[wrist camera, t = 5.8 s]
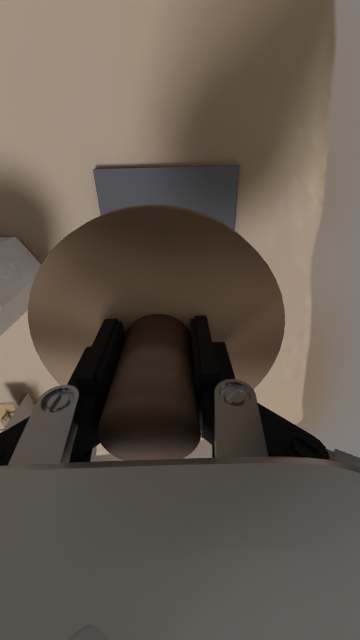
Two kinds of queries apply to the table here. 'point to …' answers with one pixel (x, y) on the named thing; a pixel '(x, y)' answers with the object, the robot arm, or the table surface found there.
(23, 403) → the architectural model
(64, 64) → the table surface
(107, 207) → the mat
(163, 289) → the lid
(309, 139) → the table surface
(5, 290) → the jar
